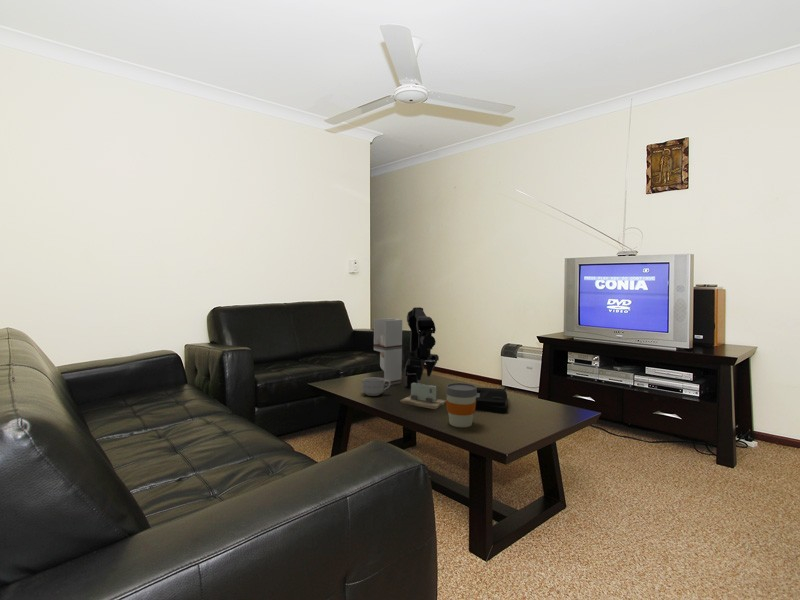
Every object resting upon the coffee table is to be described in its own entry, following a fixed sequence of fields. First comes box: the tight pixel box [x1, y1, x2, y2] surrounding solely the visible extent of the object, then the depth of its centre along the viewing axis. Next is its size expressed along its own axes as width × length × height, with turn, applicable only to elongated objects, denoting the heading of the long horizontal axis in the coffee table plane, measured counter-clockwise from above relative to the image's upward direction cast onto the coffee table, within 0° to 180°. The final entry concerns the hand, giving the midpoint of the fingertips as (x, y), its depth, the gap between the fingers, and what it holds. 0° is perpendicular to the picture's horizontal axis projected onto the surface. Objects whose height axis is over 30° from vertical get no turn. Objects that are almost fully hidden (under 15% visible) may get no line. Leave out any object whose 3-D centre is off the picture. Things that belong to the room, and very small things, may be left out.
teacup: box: [362, 376, 392, 397], centre depth 216 cm, size 14×11×8 cm
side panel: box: [399, 394, 446, 410], centre depth 204 cm, size 12×18×3 cm, turn 59°
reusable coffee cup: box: [445, 382, 477, 428], centre depth 175 cm, size 13×12×15 cm
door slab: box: [410, 382, 437, 402], centre depth 203 cm, size 3×12×7 cm, turn 59°
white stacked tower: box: [373, 317, 403, 387], centre depth 241 cm, size 11×11×35 cm
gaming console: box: [475, 386, 509, 415], centre depth 204 cm, size 27×20×7 cm
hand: (423, 378), depth 203 cm, fingers open, 9 cm apart
